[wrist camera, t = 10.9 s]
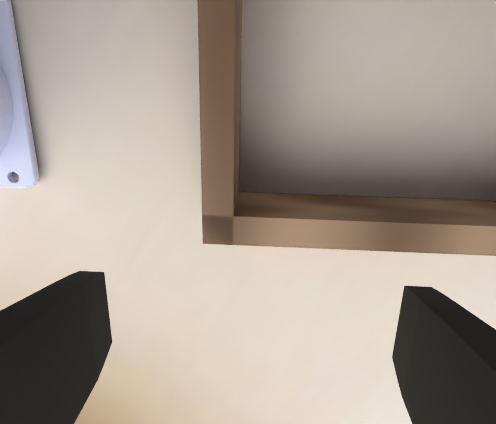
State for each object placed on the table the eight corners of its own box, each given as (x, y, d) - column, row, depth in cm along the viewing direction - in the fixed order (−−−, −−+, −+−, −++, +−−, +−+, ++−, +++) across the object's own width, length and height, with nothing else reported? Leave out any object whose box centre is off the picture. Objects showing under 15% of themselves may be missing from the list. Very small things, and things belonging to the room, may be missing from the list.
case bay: (213, 215, 20) (202, 243, 17) (209, -109, 15) (194, -144, 12) (535, 228, 19) (581, 259, 16) (630, -108, 14) (715, -146, 12)
